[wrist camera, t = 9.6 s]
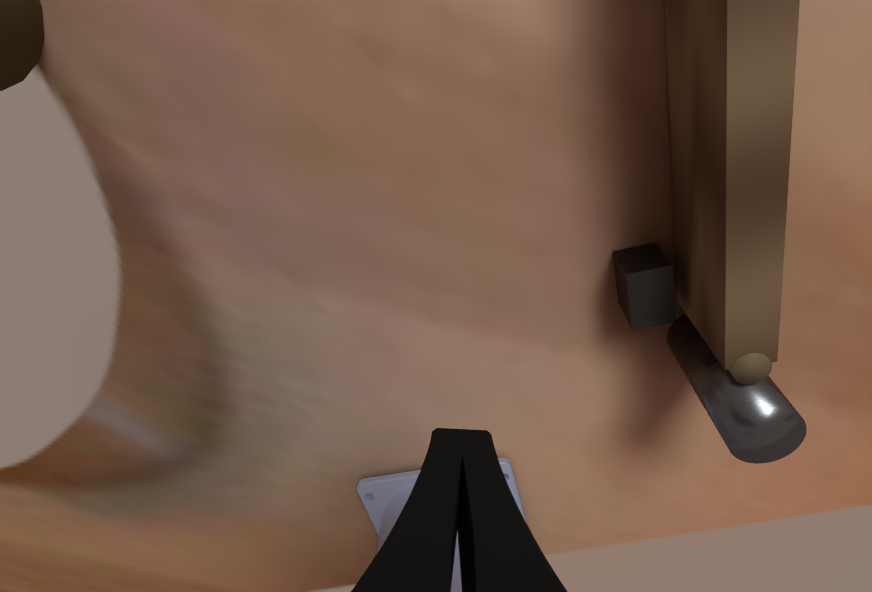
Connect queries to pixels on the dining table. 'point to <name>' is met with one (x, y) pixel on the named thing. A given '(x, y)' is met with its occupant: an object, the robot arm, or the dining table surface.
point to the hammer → (707, 363)
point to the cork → (19, 39)
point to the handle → (731, 170)
